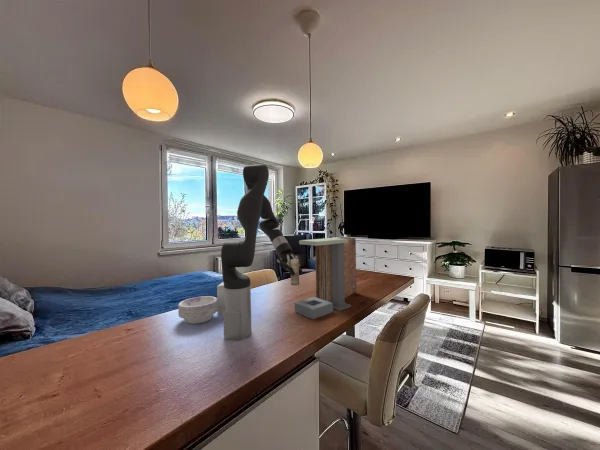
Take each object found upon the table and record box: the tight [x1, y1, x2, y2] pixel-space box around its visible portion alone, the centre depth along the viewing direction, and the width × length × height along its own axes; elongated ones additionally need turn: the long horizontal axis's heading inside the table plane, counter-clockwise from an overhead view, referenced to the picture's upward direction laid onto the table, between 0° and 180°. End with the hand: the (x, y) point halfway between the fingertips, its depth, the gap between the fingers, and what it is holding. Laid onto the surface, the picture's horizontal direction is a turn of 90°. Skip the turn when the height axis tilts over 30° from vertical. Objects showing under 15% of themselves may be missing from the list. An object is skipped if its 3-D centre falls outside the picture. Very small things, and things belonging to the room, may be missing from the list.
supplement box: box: [216, 281, 224, 315], centre depth 112 cm, size 7×7×13 cm
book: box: [314, 236, 358, 303], centre depth 129 cm, size 25×9×30 cm, turn 140°
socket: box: [293, 296, 334, 320], centre depth 109 cm, size 12×12×4 cm
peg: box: [290, 259, 300, 287], centre depth 119 cm, size 4×4×12 cm
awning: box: [298, 237, 352, 312], centre depth 111 cm, size 11×22×32 cm, turn 129°
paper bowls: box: [177, 295, 218, 325], centre depth 103 cm, size 15×15×8 cm
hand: (297, 274), depth 117 cm, fingers closed on peg, 4 cm apart
